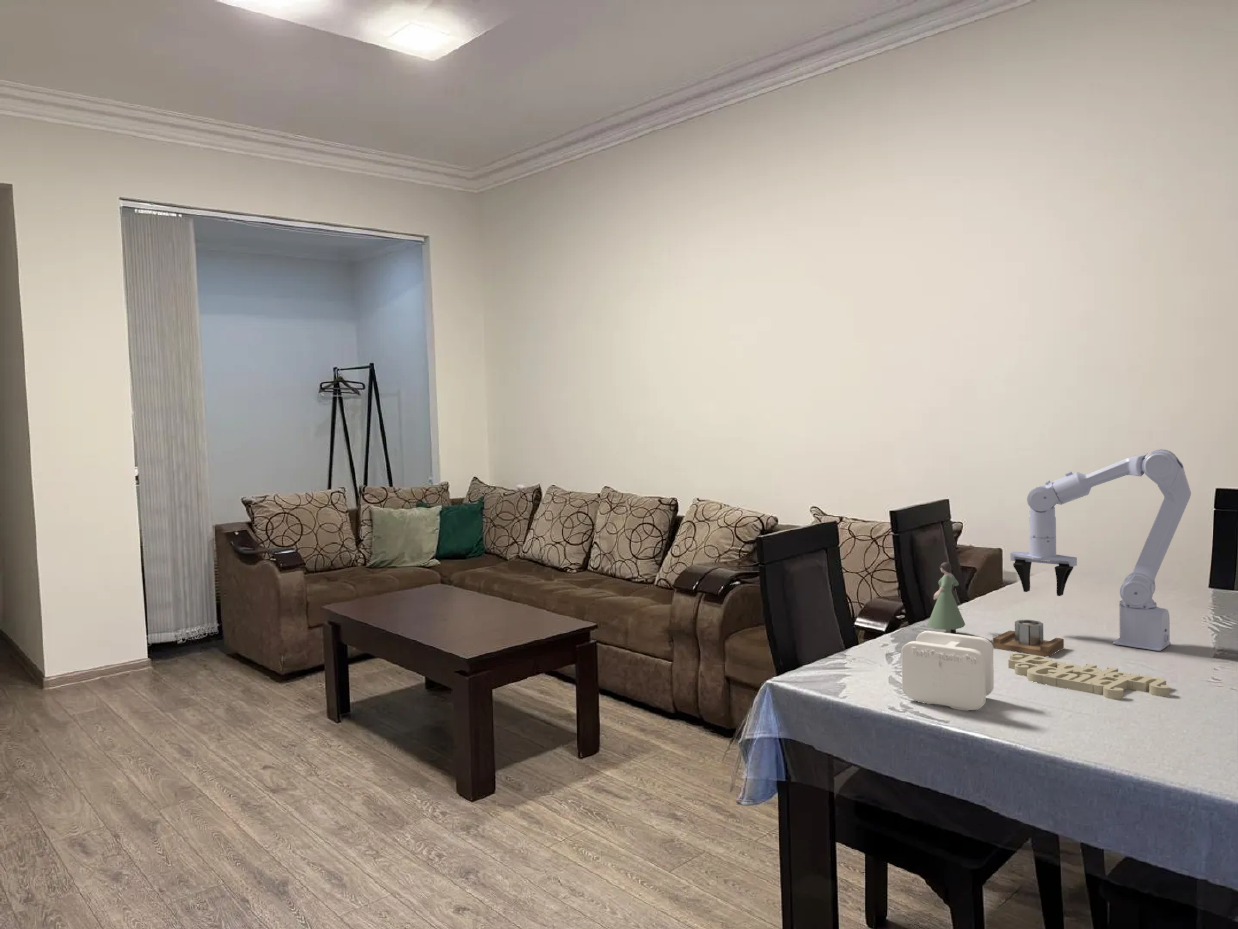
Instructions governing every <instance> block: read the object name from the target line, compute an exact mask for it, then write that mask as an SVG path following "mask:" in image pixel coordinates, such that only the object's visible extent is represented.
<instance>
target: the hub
mask: <svg viewBox="0 0 1238 929" xmlns="http://www.w3.org/2000/svg"><path fill="white" fill-rule="evenodd" d="M1023 623H1032V624H1033V625H1026V624H1023ZM1014 631H1015V642H1017V643H1018V644H1022V645H1028V646H1029V645H1030V646H1036V645H1041V644H1043V640H1044V623H1043V622H1041V621H1039V620H1034V619H1033V620H1032V619H1018V620H1016V621H1014Z"/></svg>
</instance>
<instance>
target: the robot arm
mask: <svg viewBox="0 0 1238 929" xmlns="http://www.w3.org/2000/svg"><path fill="white" fill-rule="evenodd" d="M1147 454H1148V452H1146V453H1145V452H1144V453H1141V454H1138V455H1134V456H1133V455H1132V456H1130V457H1126V458H1124V459H1122V460H1119V461H1116V462H1114V463H1112V464H1109V465H1107V466H1104V467H1102V468H1099V469H1097V470H1095V471H1092V472H1089V473H1087V474H1084V473H1082V472H1078V471H1076V472H1072V471H1069V472H1066V473H1065V476H1063V477H1060V478H1058V479H1055V480H1052V481H1050V480H1047V481H1045V482H1044V484H1045V485H1039V486H1036V487H1035V488H1033V489H1031V490H1030V491H1029V493H1028V494H1027V495H1026V496H1027V498H1026V502H1027V505H1028V506H1029V517H1028V525H1029V526H1028V527H1029V528H1028V530H1029V531H1028V533H1029V534H1028V535H1029V536H1028V537H1029V538H1028V539H1029V540H1028V543H1029V546H1028V547H1029V551H1028V552H1025V551H1012V552H1010V553H1009V555H1010V556H1009V558H1010V561H1012V562H1013V561H1014V562H1013V563H1012V566H1013V568H1014V570H1015V571H1016V573H1017V575H1018V578H1019V580H1020V583H1021V587H1022V589H1023V592H1024V593H1027V592H1030V591H1031V569H1032V568H1031V567H1032V563H1038V564H1039V563H1040V564H1048V565H1057V566H1054V571H1055V578H1056V596H1057V597H1062V596H1064V592H1065V588H1066V584H1067V581H1068V579H1069V577H1070V575H1071V574H1072V572H1073V570H1074V567H1076V566H1078V560H1077V559H1078V557H1076V556H1069V555H1062V554H1057V519H1056V507H1055V506H1057V505H1064V504H1066V503H1069V502H1072V501H1074V500H1077V499H1081V498H1083V497H1086V496H1088V495H1089V494H1090V492H1091V490H1092V487H1093V488H1094V487H1096V486H1099V485H1102V484H1105V483H1108V482H1110V481H1113V480H1117V479H1119V478H1123V477H1125V476H1134V477H1142V476H1143V475H1145V476H1146V477H1147V478H1149V479H1150V480H1151V481H1152V482H1154V483H1155V485H1157V487H1158V488H1159V490H1160V492H1161V494H1162V495H1163V498H1164V499H1163V501H1162V503H1161V504H1160V507H1159V509H1158V512H1157V515H1156V517H1155V519H1154V521H1153V524H1152V526H1151V528H1150V531H1149V533H1148V536H1147V538H1146V540H1145V542H1144V545H1143V547H1142V549H1141V552H1140V554H1139V557H1138V559H1137V562H1136V564H1135V566H1134V568H1133V570H1132V572H1131V573H1129V574H1128V575H1127V576H1126V577H1125V578H1124V580H1123V583H1121V586H1120V587H1119V595H1120V598H1121V600H1119V604H1118V605H1119V638H1117V639H1116V640H1114V641H1113V642H1112V643H1113V645H1116V646H1123V647H1131V648H1136V649H1137V648H1138V649H1142V650H1143V649H1144V650H1151V651H1155V652H1160V651H1162V650H1164V649H1165V648H1167V647H1168V646H1170V645H1171V641H1170V639H1171V638H1170V627H1171V626H1170V623H1171V622H1170V618H1171V617H1170V613H1169V609H1167V608H1163V607H1159V606H1157V602H1155V600H1154V599H1153V596H1154V593H1155V591H1156V581H1155V580H1156V578H1157V575H1158V572H1159V569H1160V567H1161V565H1162V563H1163V560H1164V558H1165V556H1166V554H1167V551H1168V549H1169V547H1170V545H1171V542H1172V540H1173V538H1174V535H1175V533H1176V531H1177V528H1178V527H1179V524H1180V522H1181V519H1182V517H1183V515H1184V513H1185V510H1186V508H1187V505H1188V503H1189V502H1190V499H1191V494H1192V492H1191V487H1190V485H1189V482H1188V479H1187V475H1186V472H1185V468H1184V465H1183V463H1182V462H1181V461H1180V459H1179V458H1178V457H1177V456H1176V454H1175V453H1173V451H1171V450H1168V449H1163V448H1161V449H1157V450H1156V449H1155V450H1154V451H1152V452H1150V453H1149V454H1148V455H1147Z"/></svg>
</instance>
